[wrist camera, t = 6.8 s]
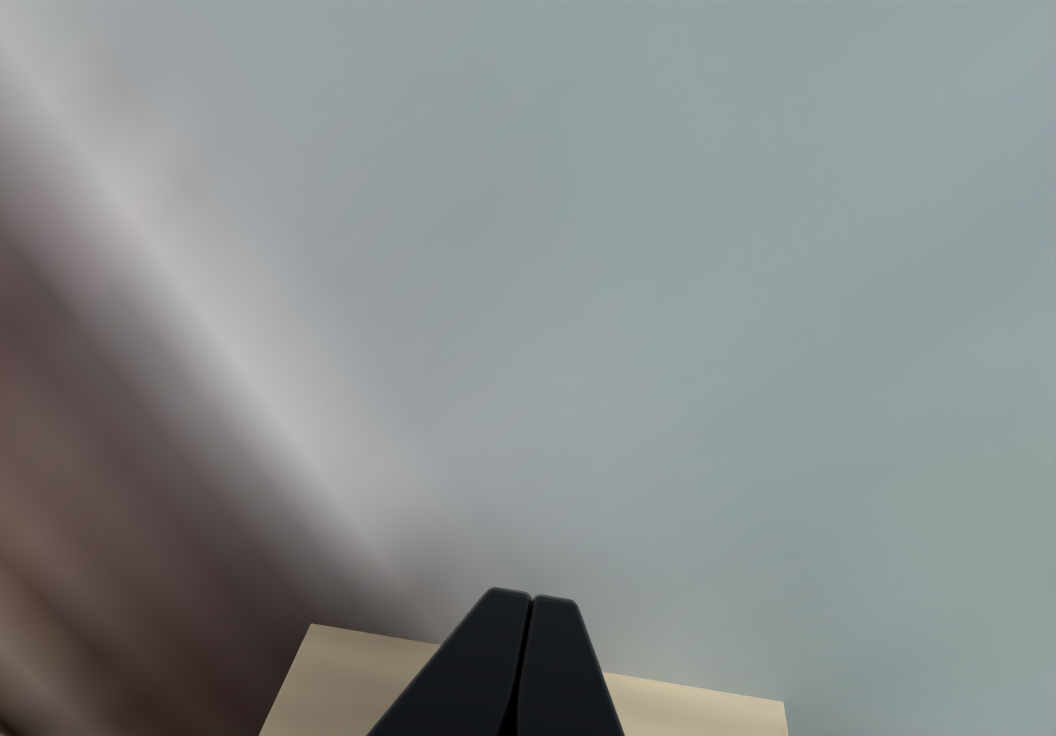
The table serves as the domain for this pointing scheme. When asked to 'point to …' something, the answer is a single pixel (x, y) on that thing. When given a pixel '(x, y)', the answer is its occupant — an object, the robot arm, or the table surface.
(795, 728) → the table surface
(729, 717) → the birch block
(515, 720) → the robot arm
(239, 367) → the table surface
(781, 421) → the table surface
